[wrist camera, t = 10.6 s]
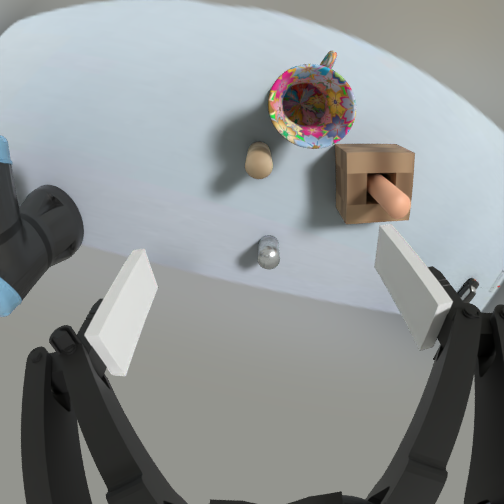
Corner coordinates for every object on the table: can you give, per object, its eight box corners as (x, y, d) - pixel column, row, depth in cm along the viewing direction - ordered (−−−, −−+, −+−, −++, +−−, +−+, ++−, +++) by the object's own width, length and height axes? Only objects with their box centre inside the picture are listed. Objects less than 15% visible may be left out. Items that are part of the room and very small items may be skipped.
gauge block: (335, 207, 43) (346, 224, 38) (334, 144, 38) (346, 152, 32) (393, 204, 42) (408, 220, 37) (396, 144, 37) (414, 153, 32)
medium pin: (249, 164, 40) (246, 180, 33) (246, 142, 38) (243, 154, 31) (271, 162, 39) (273, 177, 33) (269, 140, 38) (271, 151, 31)
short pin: (262, 254, 47) (261, 271, 43) (256, 238, 46) (255, 253, 42) (280, 250, 47) (282, 266, 42) (275, 233, 45) (276, 248, 41)
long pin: (356, 186, 41) (386, 219, 30) (356, 166, 39) (388, 193, 29) (375, 185, 40) (409, 218, 30) (375, 166, 39) (412, 193, 29)
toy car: (447, 301, 53) (462, 324, 46) (479, 262, 47) (498, 283, 41) (454, 305, 54) (469, 328, 47) (485, 268, 48) (503, 289, 42)
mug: (316, 145, 38) (335, 162, 29) (255, 120, 36) (254, 128, 27) (349, 73, 32) (378, 69, 23) (287, 45, 30) (297, 29, 21)
